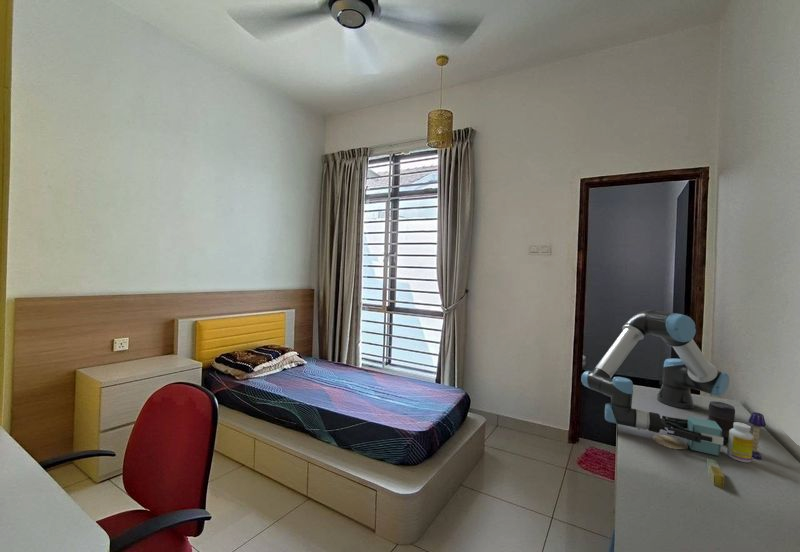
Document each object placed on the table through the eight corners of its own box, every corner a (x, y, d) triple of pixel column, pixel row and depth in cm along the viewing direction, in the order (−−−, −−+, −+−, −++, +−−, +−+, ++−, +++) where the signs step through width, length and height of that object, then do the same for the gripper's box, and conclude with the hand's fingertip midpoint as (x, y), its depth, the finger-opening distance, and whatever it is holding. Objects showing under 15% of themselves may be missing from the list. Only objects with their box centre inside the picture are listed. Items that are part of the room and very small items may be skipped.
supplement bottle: (756, 464, 130) (759, 430, 129) (735, 461, 131) (738, 427, 131) (742, 454, 137) (745, 422, 136) (722, 452, 138) (725, 419, 137)
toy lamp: (764, 461, 133) (768, 417, 132) (747, 457, 135) (751, 414, 134) (759, 455, 137) (763, 412, 136) (743, 451, 139) (747, 409, 138)
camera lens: (700, 434, 152) (704, 400, 151) (720, 436, 152) (723, 401, 151) (717, 444, 144) (720, 408, 143) (737, 446, 144) (741, 409, 143)
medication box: (705, 468, 127) (706, 457, 126) (715, 470, 125) (716, 459, 125) (713, 486, 116) (714, 473, 116) (724, 488, 115) (725, 476, 115)
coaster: (658, 433, 151) (658, 432, 151) (691, 444, 143) (691, 443, 143) (649, 440, 145) (649, 439, 144) (682, 453, 136) (682, 451, 136)
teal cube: (685, 440, 145) (688, 415, 145) (713, 446, 141) (715, 421, 141) (691, 449, 138) (693, 424, 137) (719, 456, 134) (722, 430, 133)
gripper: (643, 420, 157) (710, 434, 147) (650, 440, 139) (727, 458, 128) (645, 403, 157) (711, 416, 146) (652, 422, 138) (729, 438, 127)
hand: (719, 435), depth 137 cm, fingers closed on teal cube, 8 cm apart
